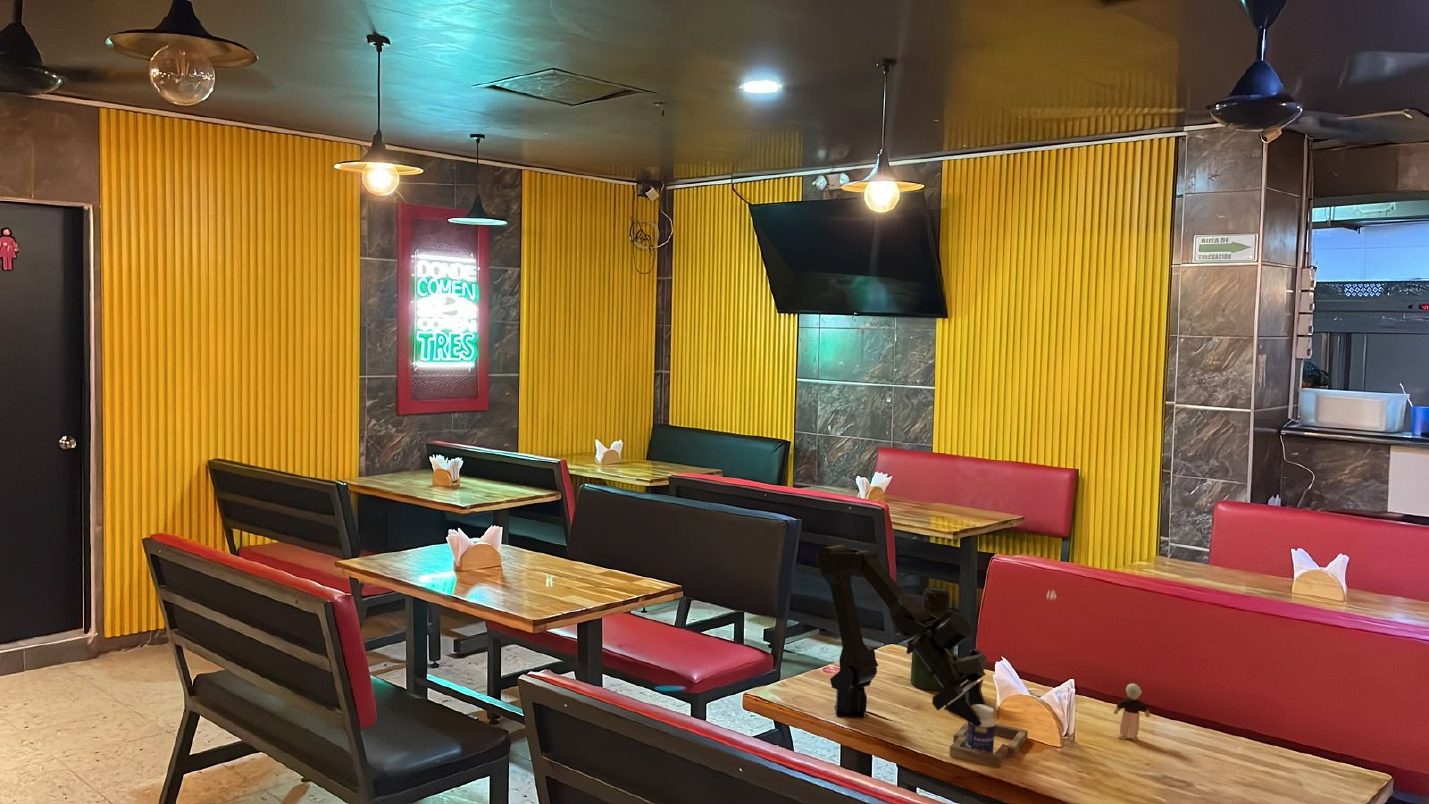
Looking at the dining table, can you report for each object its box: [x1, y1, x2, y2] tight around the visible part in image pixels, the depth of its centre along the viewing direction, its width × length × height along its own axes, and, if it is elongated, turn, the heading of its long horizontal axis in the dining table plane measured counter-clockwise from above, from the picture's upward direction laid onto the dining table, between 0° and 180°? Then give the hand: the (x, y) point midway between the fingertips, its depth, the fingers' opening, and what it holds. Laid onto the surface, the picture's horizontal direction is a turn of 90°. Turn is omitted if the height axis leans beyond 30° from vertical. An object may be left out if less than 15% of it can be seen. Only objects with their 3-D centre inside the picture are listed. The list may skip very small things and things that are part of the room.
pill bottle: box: [965, 704, 996, 754], centre depth 227 cm, size 6×6×10 cm
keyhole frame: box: [949, 720, 1028, 769], centre depth 232 cm, size 20×13×2 cm, turn 151°
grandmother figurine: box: [1112, 683, 1151, 742], centre depth 240 cm, size 8×4×13 cm, turn 88°
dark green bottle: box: [910, 585, 955, 691], centre depth 271 cm, size 10×10×25 cm
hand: (984, 721), depth 226 cm, fingers closed on pill bottle, 6 cm apart
